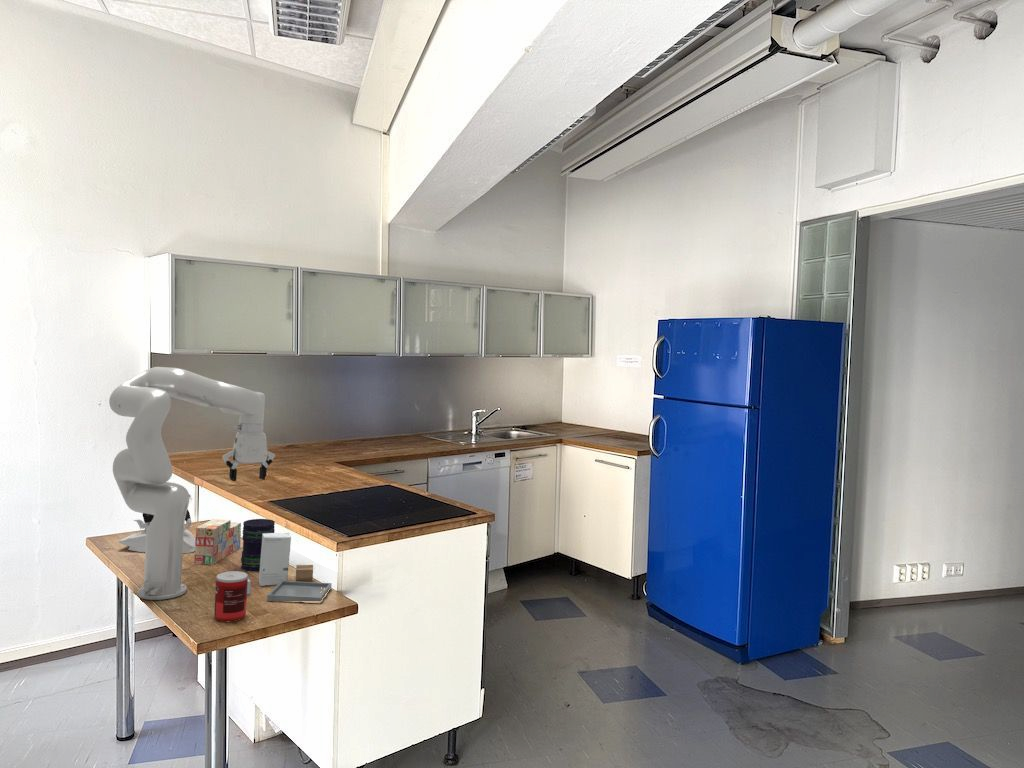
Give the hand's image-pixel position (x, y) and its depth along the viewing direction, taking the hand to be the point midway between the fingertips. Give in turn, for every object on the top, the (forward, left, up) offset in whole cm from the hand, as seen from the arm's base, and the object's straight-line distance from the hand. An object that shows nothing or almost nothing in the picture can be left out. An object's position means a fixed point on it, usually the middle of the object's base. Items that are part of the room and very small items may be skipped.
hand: (247, 479), depth 222 cm
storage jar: (-4, -6, -28) cm, 29 cm away
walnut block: (-17, -25, -28) cm, 41 cm away
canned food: (-47, -14, -28) cm, 57 cm away
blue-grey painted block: (-27, -9, -28) cm, 40 cm away
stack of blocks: (+7, +11, -28) cm, 31 cm away
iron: (+11, +32, -28) cm, 44 cm away
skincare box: (-18, -16, -28) cm, 37 cm away
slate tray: (-28, -27, -28) cm, 48 cm away
